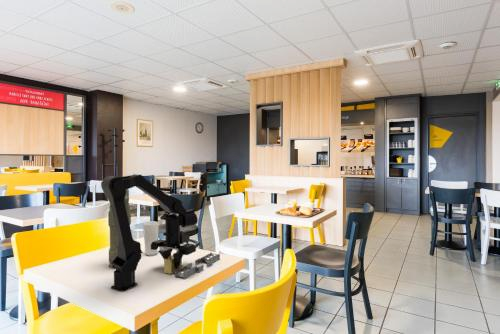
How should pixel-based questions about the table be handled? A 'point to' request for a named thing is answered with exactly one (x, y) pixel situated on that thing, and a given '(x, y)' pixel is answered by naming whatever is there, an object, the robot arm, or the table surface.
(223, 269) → the table surface
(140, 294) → the table surface
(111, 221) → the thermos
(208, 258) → the chain end
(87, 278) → the table surface
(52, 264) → the table surface
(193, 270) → the chain end
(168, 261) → the link
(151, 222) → the drinking glass
